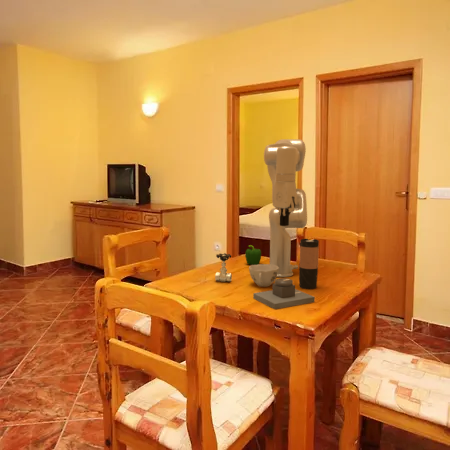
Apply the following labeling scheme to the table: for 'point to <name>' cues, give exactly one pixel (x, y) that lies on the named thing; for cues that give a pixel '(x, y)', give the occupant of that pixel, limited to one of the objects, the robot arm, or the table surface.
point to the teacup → (263, 274)
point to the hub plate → (283, 299)
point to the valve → (223, 269)
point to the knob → (283, 288)
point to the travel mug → (308, 263)
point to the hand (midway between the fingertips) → (284, 225)
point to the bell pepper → (253, 256)
